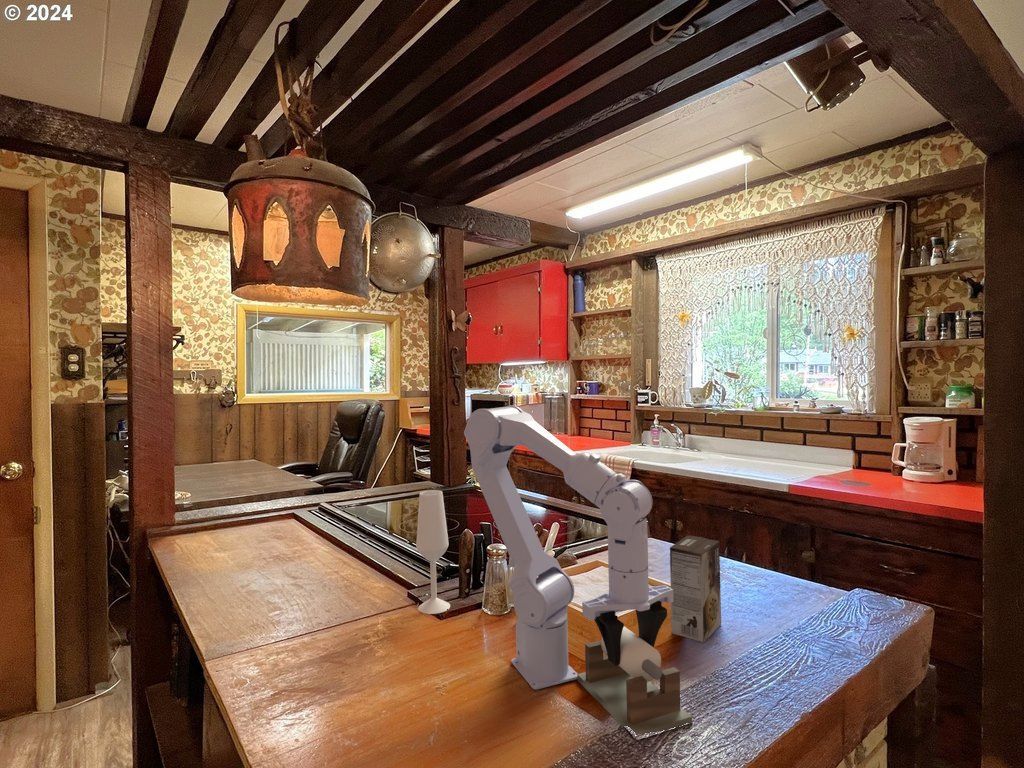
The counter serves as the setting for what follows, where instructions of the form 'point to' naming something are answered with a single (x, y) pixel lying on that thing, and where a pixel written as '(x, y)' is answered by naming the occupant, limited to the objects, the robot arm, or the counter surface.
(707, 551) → the coffee box
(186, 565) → the counter surface
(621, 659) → the paper roll
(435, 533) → the champagne flute
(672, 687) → the roll holder
